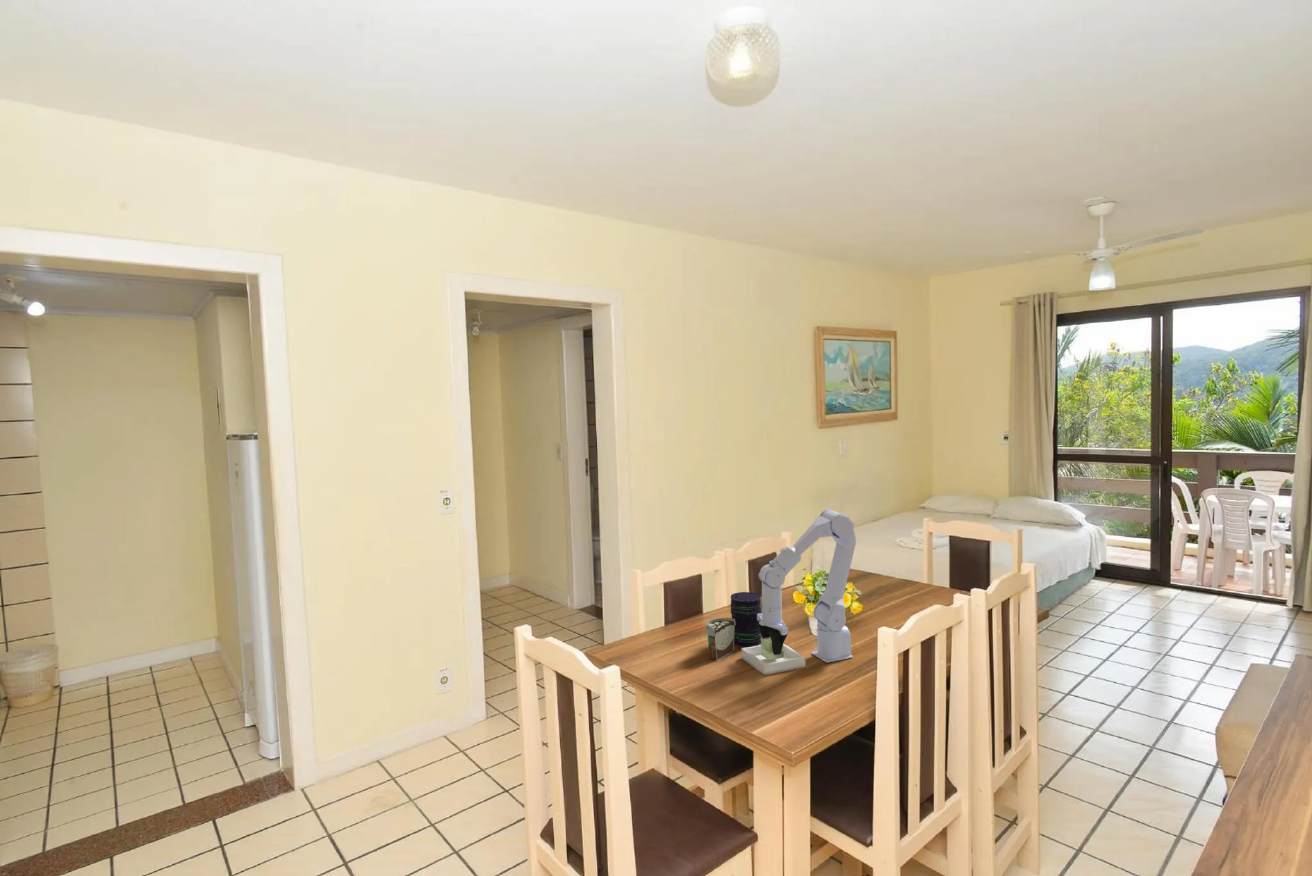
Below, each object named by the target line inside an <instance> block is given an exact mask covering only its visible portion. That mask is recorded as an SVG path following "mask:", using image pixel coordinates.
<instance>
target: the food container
mask: <svg viewBox="0 0 1312 876" xmlns="http://www.w3.org/2000/svg"><path fill="white" fill-rule="evenodd" d="M735 625H736V623H735V619H732V617H731V618H729V617H720V618H719V617H718V618H714V619H710V620H708V621H707V622H706V624H705V629H704V632H705V634H706V636H707V644H708V646H707V647H708V654H709V658H710V659H711V660H714V661H716V662H718V661H720V660H721V659H723V658H725V657H727V656H728V655H730V654H732V653H734V652H733V651H735V645H734V631H735Z"/></svg>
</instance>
